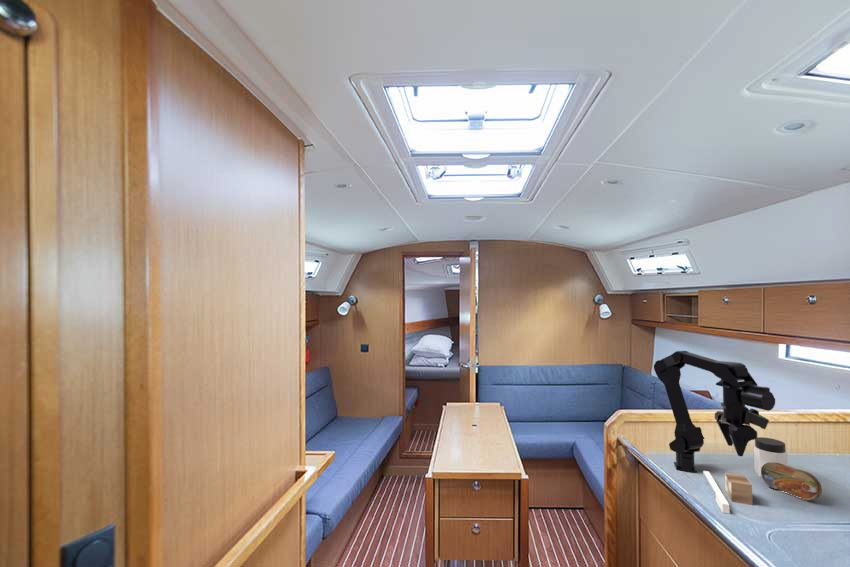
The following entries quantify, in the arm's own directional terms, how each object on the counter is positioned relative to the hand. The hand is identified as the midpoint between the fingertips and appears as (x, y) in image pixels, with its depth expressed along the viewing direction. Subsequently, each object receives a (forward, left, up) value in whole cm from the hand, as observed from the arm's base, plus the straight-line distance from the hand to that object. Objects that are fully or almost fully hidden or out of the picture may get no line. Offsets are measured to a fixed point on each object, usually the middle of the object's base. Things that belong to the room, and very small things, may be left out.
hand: (735, 450), depth 129 cm
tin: (-5, +15, -13) cm, 21 cm away
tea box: (+5, -1, -13) cm, 14 cm away
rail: (+5, -7, -13) cm, 15 cm away
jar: (-18, +14, -13) cm, 26 cm away
